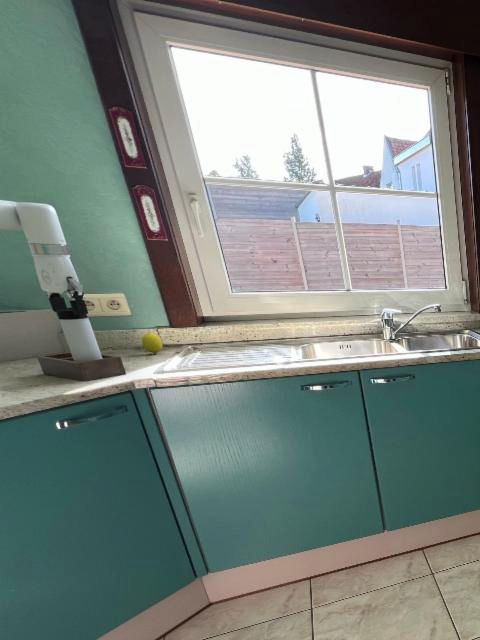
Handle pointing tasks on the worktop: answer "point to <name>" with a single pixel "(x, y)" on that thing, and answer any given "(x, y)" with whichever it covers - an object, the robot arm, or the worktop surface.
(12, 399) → the worktop surface
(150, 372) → the worktop surface
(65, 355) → the brown divided storage box
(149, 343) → the lemon
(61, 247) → the robot arm
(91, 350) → the travel mug
